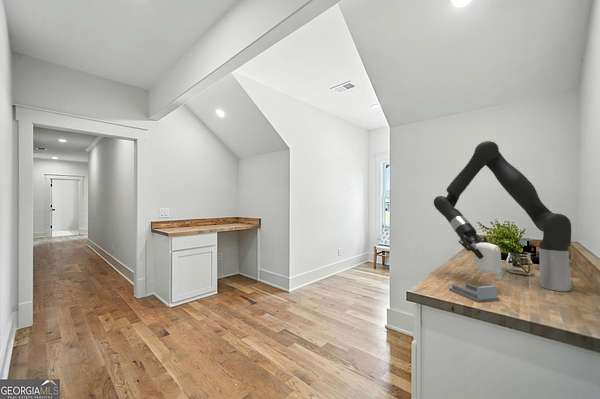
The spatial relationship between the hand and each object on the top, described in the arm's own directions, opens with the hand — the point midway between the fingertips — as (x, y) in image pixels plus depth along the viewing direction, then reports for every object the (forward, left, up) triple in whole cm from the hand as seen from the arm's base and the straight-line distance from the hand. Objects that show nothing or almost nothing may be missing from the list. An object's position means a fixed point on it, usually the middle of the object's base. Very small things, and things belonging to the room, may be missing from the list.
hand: (486, 257), depth 110 cm
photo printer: (0, +1, -6) cm, 6 cm away
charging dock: (+11, +4, -14) cm, 18 cm away
